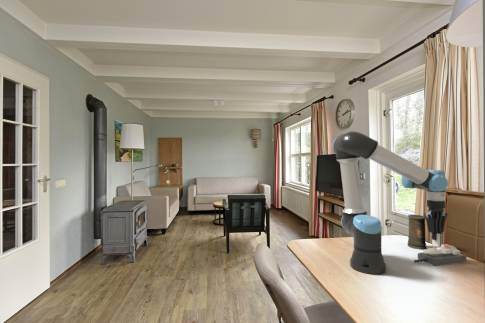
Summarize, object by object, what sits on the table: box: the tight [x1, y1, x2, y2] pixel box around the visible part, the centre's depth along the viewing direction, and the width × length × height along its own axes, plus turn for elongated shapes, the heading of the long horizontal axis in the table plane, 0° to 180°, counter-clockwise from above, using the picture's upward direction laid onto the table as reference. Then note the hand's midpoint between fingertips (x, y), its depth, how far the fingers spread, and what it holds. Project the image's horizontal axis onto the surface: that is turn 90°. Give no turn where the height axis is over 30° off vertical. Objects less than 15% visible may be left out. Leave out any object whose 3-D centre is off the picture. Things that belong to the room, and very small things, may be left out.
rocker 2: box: [432, 246, 451, 254], centre depth 125 cm, size 4×7×3 cm, turn 15°
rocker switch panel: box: [413, 252, 467, 267], centre depth 124 cm, size 27×9×3 cm, turn 105°
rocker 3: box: [440, 243, 461, 255], centre depth 126 cm, size 4×7×3 cm, turn 15°
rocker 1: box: [422, 247, 442, 255], centre depth 123 cm, size 4×7×3 cm, turn 15°
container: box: [407, 214, 428, 250], centre depth 145 cm, size 9×9×18 cm
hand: (436, 245), depth 127 cm, fingers closed
